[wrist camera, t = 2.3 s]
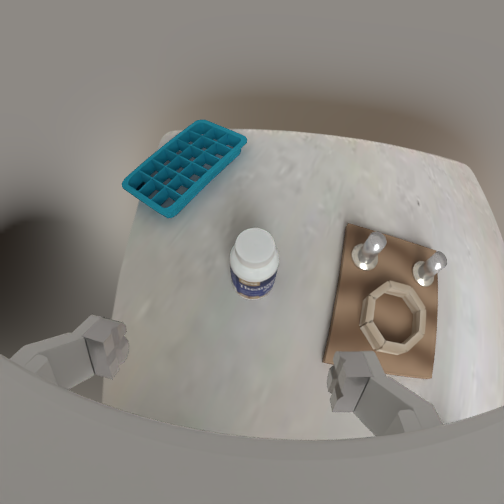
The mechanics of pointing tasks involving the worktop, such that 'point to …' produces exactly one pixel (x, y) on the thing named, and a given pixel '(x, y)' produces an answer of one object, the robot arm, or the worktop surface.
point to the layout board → (385, 308)
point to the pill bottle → (254, 263)
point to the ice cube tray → (184, 166)
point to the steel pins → (368, 252)
